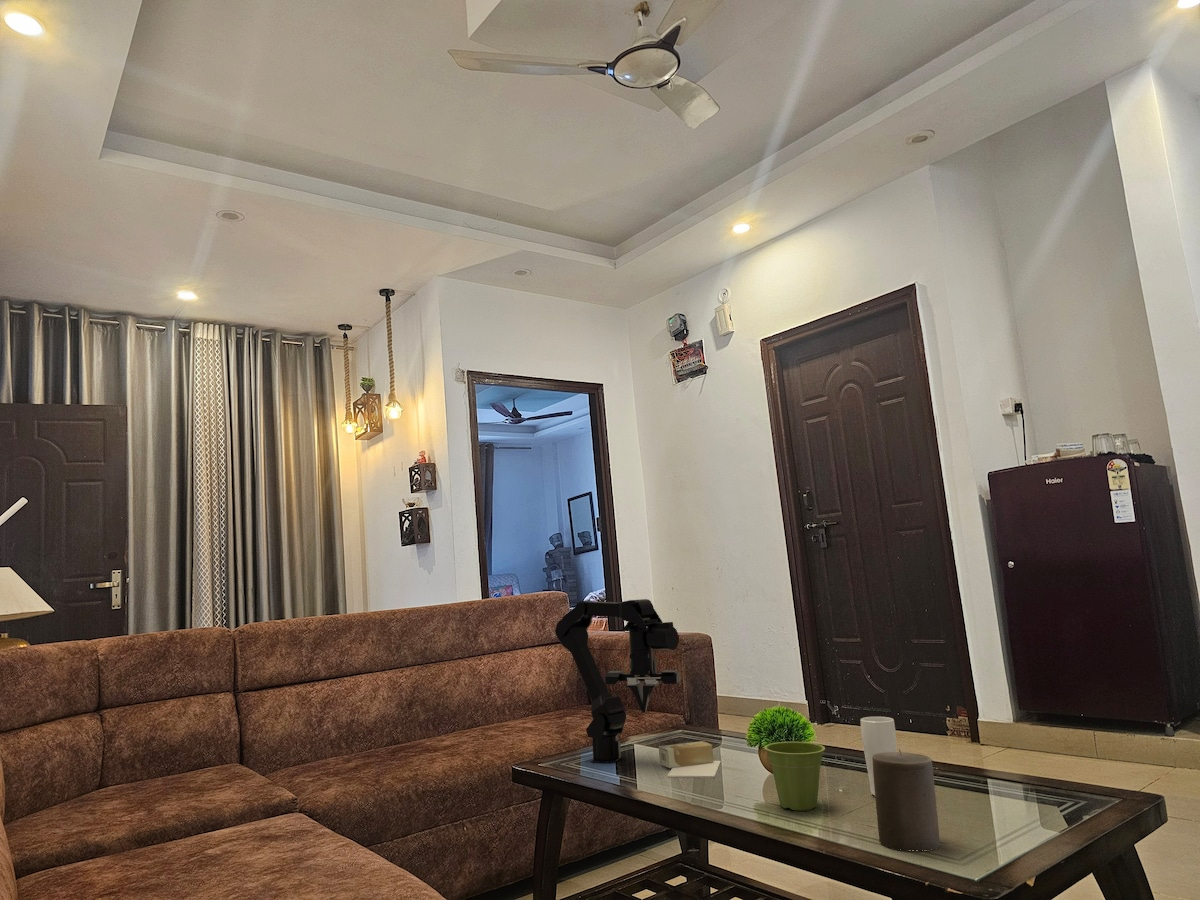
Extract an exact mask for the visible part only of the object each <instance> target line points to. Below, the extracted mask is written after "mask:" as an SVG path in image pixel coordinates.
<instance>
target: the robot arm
mask: <svg viewBox="0 0 1200 900" xmlns="http://www.w3.org/2000/svg"><path fill="white" fill-rule="evenodd" d="M593 616H594V617H608V618H609V617H610V618H611V617H613V618H618V619H620V620H621V621H625V622H627V623H626V624H625V625H624V627H622V630H621V631H622V632H628V636H629V638H628V639H629V660H630V661H629V669H630V671H629V672H630V673H625V672H624V670H610V671H607V672H606V673H605V674H604V678H603V676H602V674H601V672H600V669H599V668H598V665H597V664H596V661H595V659H594V657H593V654H592V652H591V650H590V647H589V646H588V643H589V632H588V628H589V627H590V626H591V624H592V620H593ZM555 625H556V626H555V629H554V633H555V636H556V638H557V639H558V641H559V643H560V644H561V646H562V647H564V648H565V650H567V651H568V652H570V654H571V656H572V658H573V661H574V663H575V666H576V667H577V669H578V672H579V675H580V677H581V679H582V681H583V683H584V686H585V688H586V691H587V692H588V695H589V697H590V699H591V711H590V713H591V716H592V720H591V722H590V723H589V725H588V726H587V727H586V728H585V731H586V735H587V737H588V738H591V739H592V740H591V741H592V759H591V762H592V761H601V762H600V763H616V762H617V761H619V759H621V757H622V750H621V740H620V739H619V734H622V733H623V731H624V726H625V724H626V720H627V714H626V711H627V709H626V707H624V705H623V702H622V699H621V697H620V696H619V695H617V696H613V695H611V693H610V692H609V690H608V688H607V686H606V685H617V684H619V682H626V684H627V685H626V688H628V689H630V691H631V692H632V694H633V695H634V698H635V699H636V702H637V704H638V707H639V709H640V711H641V713H642V714H643V713H644V714H645V713H646V712H647V709H648V705H649V701H650V698H651V695H652V692H653V690H654V688H656V687H657V686H659V681H660V682H662V684H663V685H676V684H679V683H680V682H681V673H680V671H679V670H678V669H673V670H671V669H670V670H669V669H666V670H665V669H664V670H662V671H661V672H659V673H658V662H657V661H656V660H655V658H654V654H653V650H657V651H660V650H661V651H662V650H663V651H675V650H676V649H677V648H678V647H679V646H678V645H679V643H680V634H679V633H678V631H677V628H675V627H674V622H673V621H668V622H667V621H666V622H663V621H662V619H661V617H660V615H659V614H658V613H657V611H656V609H655V607H654V605H653V603H652V601H651V600H649V599H646V598H645V599H642V598H641V599H629V600H625V601H620V602H618V601H617V602H616V601H615V602H613V601H593V600H579V602H577V603H576V604H575V606H574V607H573V608H572V609H571V610H570V611H568V612H567V613H566V614H564V616H563V617H562V618H561V619H560V620H558V622H557V623H556V624H555ZM643 682H644V683H645V684H643Z"/></svg>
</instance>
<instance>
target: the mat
mask: <svg viewBox="0 0 1200 900" xmlns="http://www.w3.org/2000/svg"><path fill="white" fill-rule="evenodd" d="M713 761H714V762H713V763H705V764H697V765H690V766H682V767H674V768H670V769H671V770H670V771H669V772H668V774H667V777H666V778H688V779H689V778H693V779H694V778H697V779H700V778H702V779H705V778H706V779H708V778H709V779H712V778H713V779H715V777H716V775H717V772H718V770H719V768H720V766H721V763H722V761H721V760H713Z"/></svg>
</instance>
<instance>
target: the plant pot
mask: <svg viewBox="0 0 1200 900" xmlns="http://www.w3.org/2000/svg"><path fill="white" fill-rule="evenodd" d="M764 750H765V751H767V757H768V759H769V760H768V761H769V762H770V764H771V769H772V774H773V778H774V779H773V780H774V782H775V784H774V785H775V788H776V793H777V797H778V803H779V806H780V807H782V808H783V809H787V808H789V809H790V810H792V811H795V812H796V811H797V812H798V811H804V812H805V811H810V810H813V809H815V808H817V807H818V802H819V801H818V800H819V787H820V774H821V764H822V763H823V762H822V761H823V752H824V751H826V748H825V746H824V745H822V744H819V743H814V742H807V741H781V742H772V743H768V744H766V745H765V746H764Z"/></svg>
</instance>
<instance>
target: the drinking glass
mask: <svg viewBox="0 0 1200 900" xmlns="http://www.w3.org/2000/svg"><path fill="white" fill-rule="evenodd" d="M859 720H860V733H861V741H862V747H863V753H864V757H865V765H866V768H867V775H868V781H869V788H870V794H871V795H872V794H873V795H875V787H874V775H873V760H872V757H873V755H874V754H877V753H883V752H898V747H897V732H896V731H897V730H896V725H895V720H894V718H892V717H887V716H866V717H862V718H860V719H859ZM873 795H872V796H873Z"/></svg>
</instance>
